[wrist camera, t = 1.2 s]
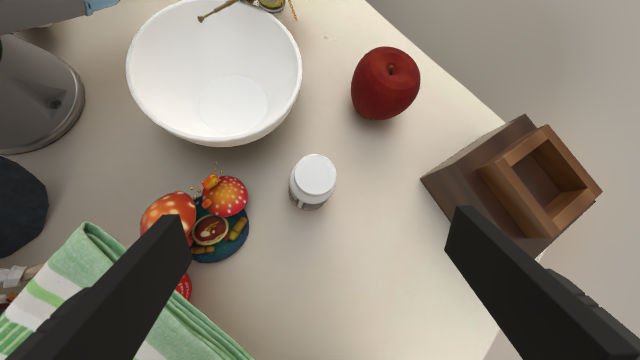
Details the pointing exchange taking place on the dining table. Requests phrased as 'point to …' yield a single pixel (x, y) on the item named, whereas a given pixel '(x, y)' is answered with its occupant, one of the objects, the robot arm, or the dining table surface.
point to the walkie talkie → (228, 3)
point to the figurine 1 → (19, 221)
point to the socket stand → (517, 183)
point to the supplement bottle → (272, 5)
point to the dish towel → (83, 271)
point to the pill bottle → (312, 182)
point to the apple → (384, 83)
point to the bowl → (214, 72)
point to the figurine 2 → (207, 217)
